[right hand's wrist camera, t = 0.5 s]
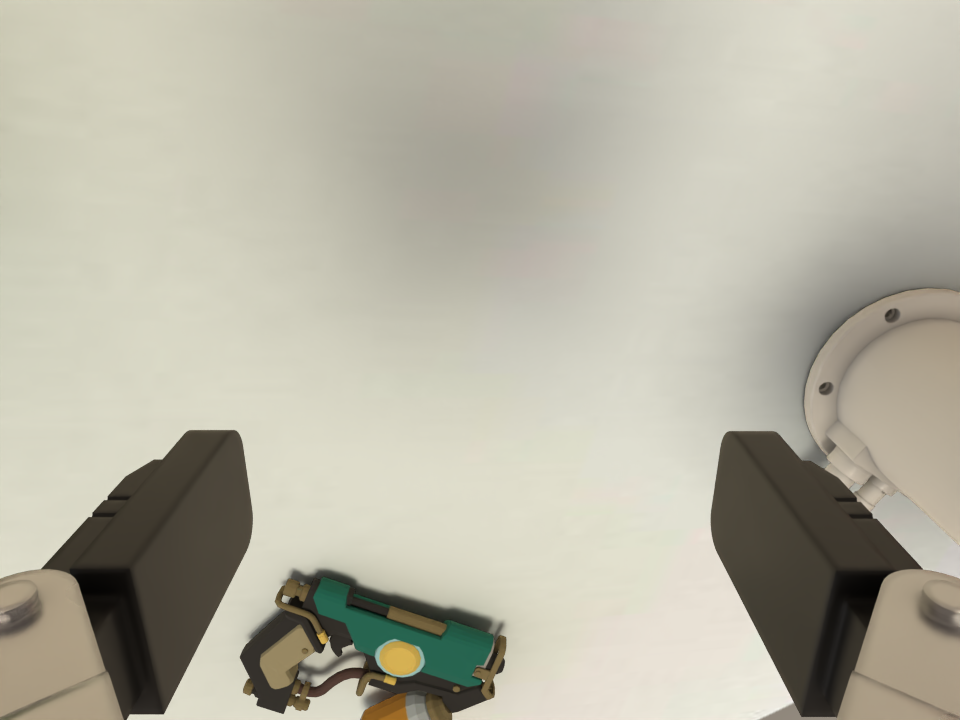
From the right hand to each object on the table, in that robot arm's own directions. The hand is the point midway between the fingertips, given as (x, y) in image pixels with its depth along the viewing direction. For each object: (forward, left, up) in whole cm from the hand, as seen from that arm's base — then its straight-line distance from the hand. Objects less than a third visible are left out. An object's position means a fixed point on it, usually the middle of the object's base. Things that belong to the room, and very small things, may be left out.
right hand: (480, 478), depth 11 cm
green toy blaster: (+32, -8, -29) cm, 44 cm away
